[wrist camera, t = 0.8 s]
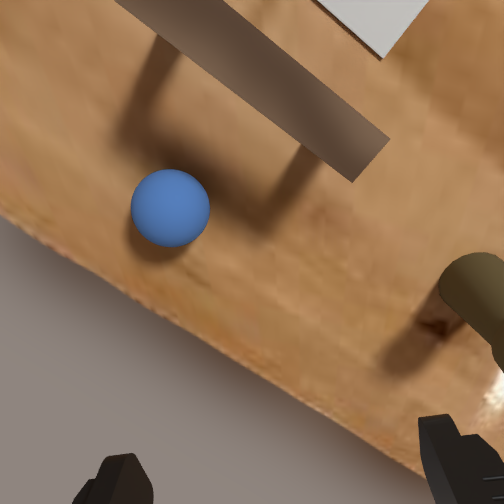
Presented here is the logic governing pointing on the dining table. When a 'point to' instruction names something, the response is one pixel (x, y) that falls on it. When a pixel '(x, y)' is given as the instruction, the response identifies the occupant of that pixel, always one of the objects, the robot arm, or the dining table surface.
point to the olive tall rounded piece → (478, 296)
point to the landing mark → (376, 19)
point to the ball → (170, 208)
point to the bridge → (265, 79)
